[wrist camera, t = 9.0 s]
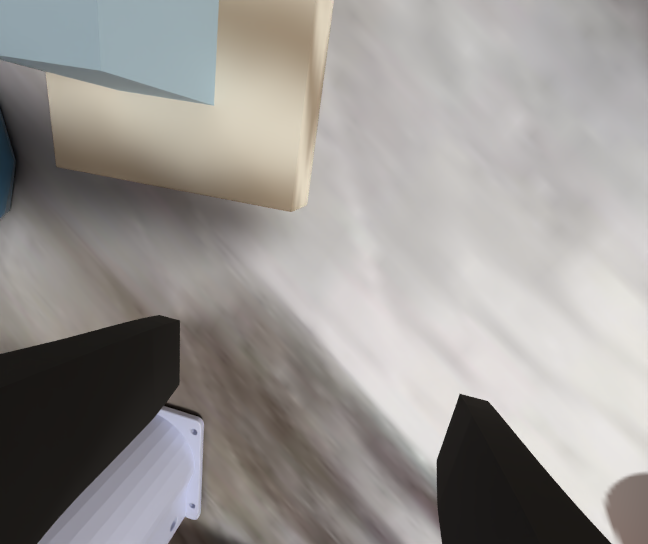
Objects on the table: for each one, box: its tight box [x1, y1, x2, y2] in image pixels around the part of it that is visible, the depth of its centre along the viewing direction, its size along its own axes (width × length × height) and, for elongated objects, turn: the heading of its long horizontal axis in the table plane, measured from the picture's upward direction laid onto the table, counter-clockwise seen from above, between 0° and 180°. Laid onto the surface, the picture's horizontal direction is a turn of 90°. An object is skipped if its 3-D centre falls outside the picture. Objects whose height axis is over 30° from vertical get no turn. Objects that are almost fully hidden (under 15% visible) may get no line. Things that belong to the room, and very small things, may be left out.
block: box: [0, 0, 219, 106], centre depth 11 cm, size 4×4×6 cm
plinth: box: [45, 0, 334, 212], centre depth 14 cm, size 12×12×2 cm
